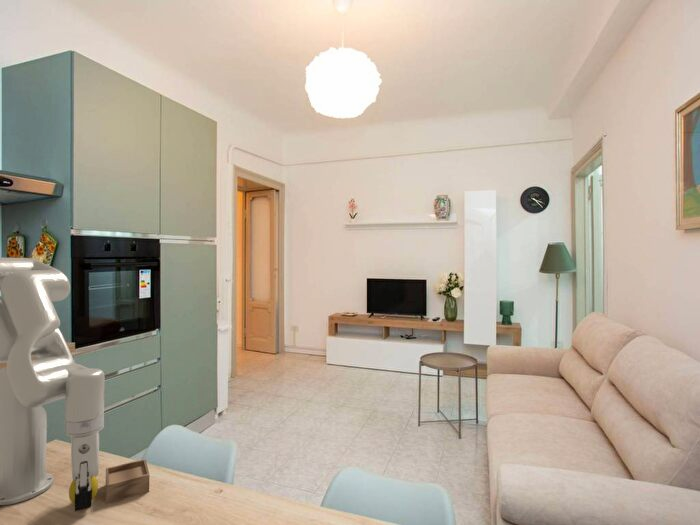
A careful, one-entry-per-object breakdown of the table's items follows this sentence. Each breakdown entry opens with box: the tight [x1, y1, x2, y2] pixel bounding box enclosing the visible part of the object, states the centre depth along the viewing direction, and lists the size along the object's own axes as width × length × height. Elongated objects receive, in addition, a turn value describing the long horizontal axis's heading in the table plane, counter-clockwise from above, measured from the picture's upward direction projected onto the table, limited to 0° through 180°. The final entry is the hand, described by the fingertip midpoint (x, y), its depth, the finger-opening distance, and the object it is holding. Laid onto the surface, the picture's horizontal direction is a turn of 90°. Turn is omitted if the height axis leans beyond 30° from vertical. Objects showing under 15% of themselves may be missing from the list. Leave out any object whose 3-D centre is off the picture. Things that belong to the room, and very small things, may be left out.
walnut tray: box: [105, 458, 150, 504], centre depth 97 cm, size 9×9×4 cm
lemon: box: [68, 473, 99, 506], centre depth 90 cm, size 6×6×8 cm
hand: (83, 500), depth 90 cm, fingers closed on lemon, 5 cm apart
